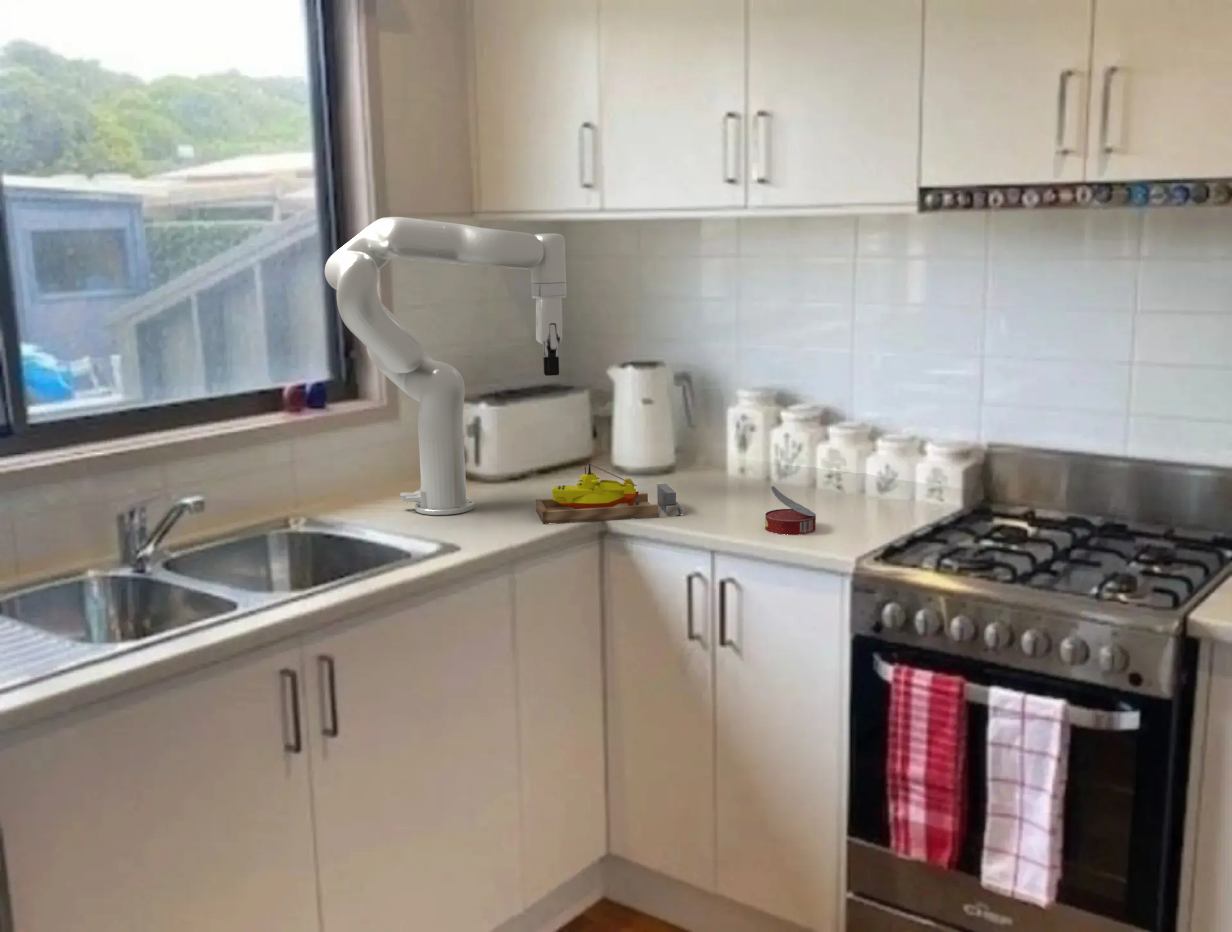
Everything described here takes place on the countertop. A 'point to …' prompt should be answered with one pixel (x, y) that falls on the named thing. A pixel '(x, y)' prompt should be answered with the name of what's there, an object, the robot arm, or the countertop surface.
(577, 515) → the bay
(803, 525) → the canned food
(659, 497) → the grey rectangular block
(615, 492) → the toy boat
